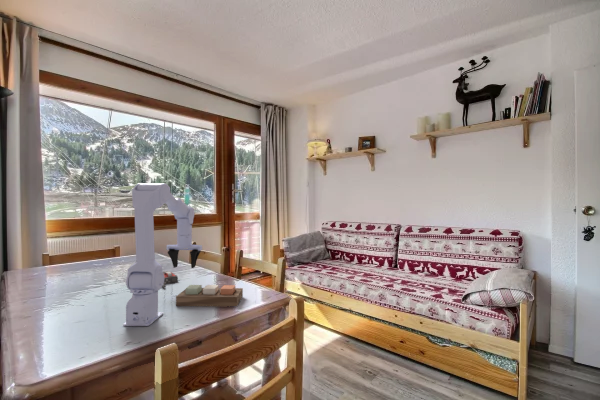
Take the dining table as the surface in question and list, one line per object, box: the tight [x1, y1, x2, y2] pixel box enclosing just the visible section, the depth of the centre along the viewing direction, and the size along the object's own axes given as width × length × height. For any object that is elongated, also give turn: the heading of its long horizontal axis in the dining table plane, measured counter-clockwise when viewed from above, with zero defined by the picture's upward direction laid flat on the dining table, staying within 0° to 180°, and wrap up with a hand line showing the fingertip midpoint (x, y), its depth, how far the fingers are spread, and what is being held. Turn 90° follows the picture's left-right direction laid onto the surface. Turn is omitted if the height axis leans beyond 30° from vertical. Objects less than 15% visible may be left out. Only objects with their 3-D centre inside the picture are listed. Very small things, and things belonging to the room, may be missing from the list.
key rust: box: [220, 284, 236, 295], centre depth 108 cm, size 4×4×2 cm
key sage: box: [185, 284, 203, 294], centre depth 108 cm, size 4×4×2 cm
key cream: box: [202, 284, 219, 295], centre depth 108 cm, size 4×4×2 cm
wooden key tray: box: [175, 287, 244, 308], centre depth 108 cm, size 10×22×4 cm, turn 90°
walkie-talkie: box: [162, 270, 179, 288], centre depth 132 cm, size 9×4×20 cm
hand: (184, 267), depth 119 cm, fingers open, 7 cm apart
